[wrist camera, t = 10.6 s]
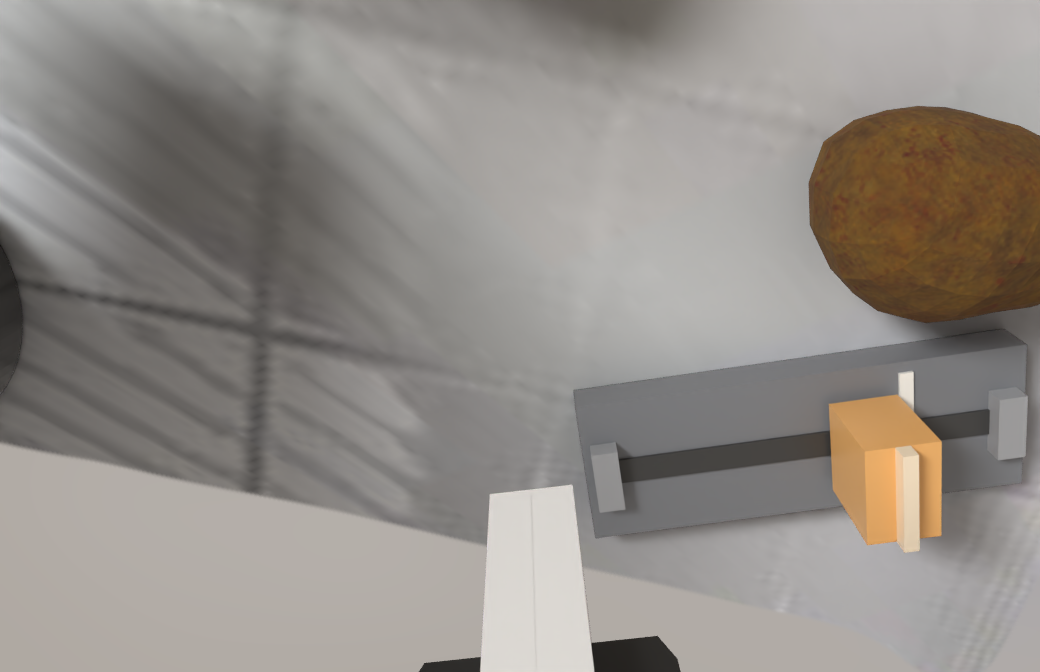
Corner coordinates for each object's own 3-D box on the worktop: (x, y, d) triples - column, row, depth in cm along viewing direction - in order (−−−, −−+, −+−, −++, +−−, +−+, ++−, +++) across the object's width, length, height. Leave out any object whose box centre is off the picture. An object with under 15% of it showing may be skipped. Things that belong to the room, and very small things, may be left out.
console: (592, 515, 44) (596, 550, 41) (573, 390, 42) (575, 417, 39) (1000, 462, 42) (1033, 494, 40) (1004, 329, 40) (1039, 352, 37)
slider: (832, 489, 40) (874, 556, 35) (828, 403, 39) (871, 461, 34) (898, 480, 40) (950, 546, 35) (897, 394, 39) (950, 450, 34)
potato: (985, 333, 40) (1099, 415, 32) (749, 248, 39) (805, 310, 31) (1086, 160, 37) (1240, 201, 29) (835, 62, 36) (922, 77, 28)
